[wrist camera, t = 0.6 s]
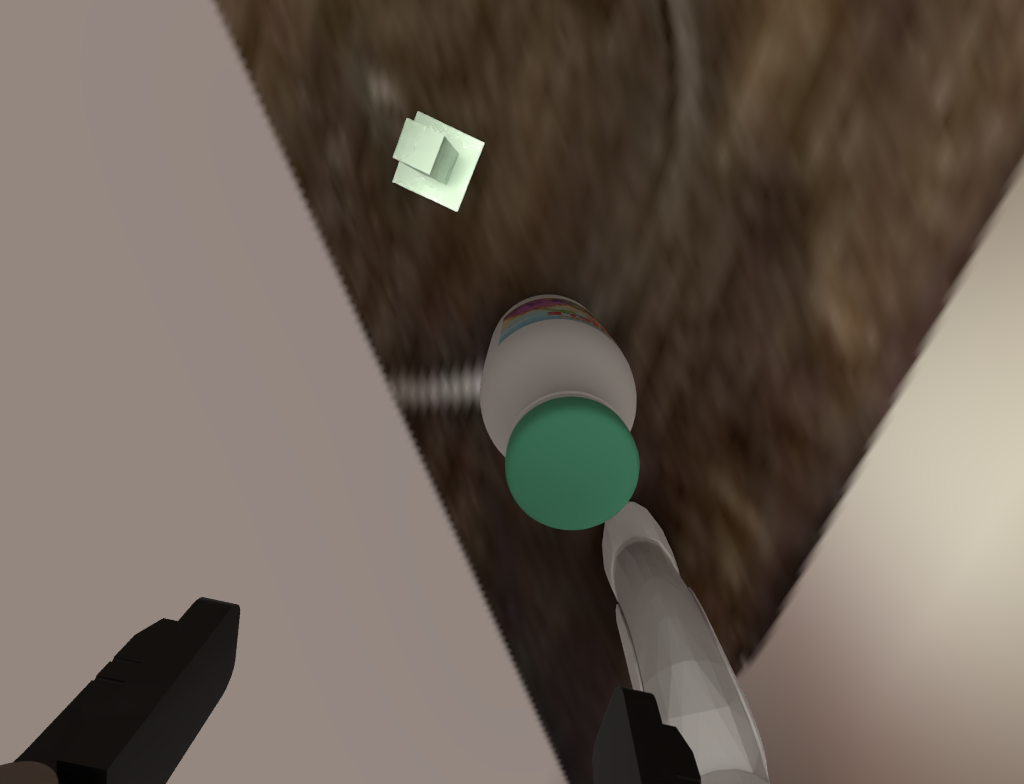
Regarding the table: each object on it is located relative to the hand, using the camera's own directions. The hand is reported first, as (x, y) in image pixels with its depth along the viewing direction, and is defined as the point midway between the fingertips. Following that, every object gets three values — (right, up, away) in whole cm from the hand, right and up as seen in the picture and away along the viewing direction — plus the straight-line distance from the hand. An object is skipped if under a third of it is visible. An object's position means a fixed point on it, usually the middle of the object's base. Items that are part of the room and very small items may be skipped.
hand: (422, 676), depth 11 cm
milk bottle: (+4, +9, +26) cm, 28 cm away
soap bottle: (+13, -6, +30) cm, 34 cm away
